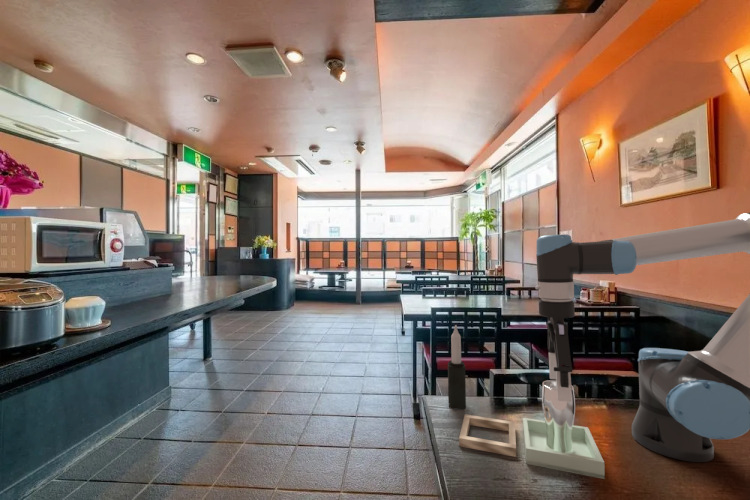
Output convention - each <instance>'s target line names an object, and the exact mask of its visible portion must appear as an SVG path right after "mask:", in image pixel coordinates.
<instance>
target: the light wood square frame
mask: <svg viewBox="0 0 750 500" xmlns="http://www.w3.org/2000/svg"><path fill="white" fill-rule="evenodd" d="M471 426H474V427H475V426H476V427H479V428H481V427H482V428H487V429H492V430H498V431H499V430H500V431H504V432H505V431H506V432H508V443H507V442H501V441H496V440H490V439H485V438H479V437H473V436H469V433H470V432H469V431H470V427H471ZM460 429H461V430H460V434H459V437H458V440H459V441H458V447H461V448H462V447H463V448H467V449H473V450H477V451H478V450H479V451H482V452H483V451H484V452H489V453H494V454H500V455H504V456H509V457H515V458H517V443H516V442H517V440H516V439H517V437H516V436H517V435H516V422H515V421H510V420H506V419H505V420H504V419H498V418H492V417H485V416H484V417H483V416H479V415H478V416H477V415H473V414H466V413H465V414H464V417H463V421H462V424H461V428H460Z"/></svg>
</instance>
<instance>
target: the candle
mask: <svg viewBox="0 0 750 500" xmlns="http://www.w3.org/2000/svg"><path fill="white" fill-rule="evenodd" d="M450 338H451V340H450V341H451V342H450V343H451V344H450V345H451V346H450V347H451V349H450V351H451V352H450V354H451V360H448V362H447V390H448V392H447V395H448V402H447V403H448V407H449V409H454V410H466V408H467V391H466V365H465V363H464V361H462V341H461V339H462V336H461V334H460V333H459V331H458V326H457V324H456V325H454V329H453V332H452V334H451V336H450Z"/></svg>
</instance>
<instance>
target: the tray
mask: <svg viewBox="0 0 750 500" xmlns="http://www.w3.org/2000/svg"><path fill="white" fill-rule="evenodd" d="M546 432H547V431H546V423H545V420H541V419H533V418H527V417H522V435H523V444H524V455H525V464H526V465H530V466H536V467H540V468H545V469H550V470H551V469H552V470H555V471H560V472H566V473H571V474H577V475H581V476H586V477H591V478H592V477H593V478H595V479H596V478H597V479H601V480H602V479H603V480H605V479H606V478H605V477H606V476H605V474H606V473H605V467H606V466H605V461H604V459H603V457H602V454H601V452H600V450H599V448H598V446H597V444H596V441H595V439H594V437H593V435H592V432H591V431H590V429H589V427H587V426H581V425H574V424H573V428H572V443H573V448H574V453H573V454H569V453H563V452H558V451H552V450H548V449H547V448H546V447H545V440H546Z"/></svg>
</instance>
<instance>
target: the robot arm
mask: <svg viewBox="0 0 750 500" xmlns="http://www.w3.org/2000/svg"><path fill="white" fill-rule="evenodd" d="M741 252H742V253H743V252H744V253H746V254H748V255H750V212H744V213H741V214H739V215H738V216H736V218H734V219H728V220H723V221H717V222H711V223H710V222H709V223H706V224H704V223H703V224H699V225H692V226H686V227H680V228H675V229H674V228H673V229H668V230H661V231H655V232H649V233H642V234H641V233H640V234H637V235H630V236H625V237H624V236H623V237H618V238H617V237H616V238H612V239H604V240H598V241H586V242H584V241H583V242H577V241H575V242H574V241H573V240H572V236H571V235H570V234H548V235H541V236H539V237H538V238H537V239H536V269H537V270H536V271H537V283H538V285H535V286H534V287H535V290H537V291H538V297H539V298H540V299H539V300H538V313H539V315H540V316H541V317H543V318H544V317H545V318H547V322H546V327H547V344H546V345H547V350H548V366H549V367H548V368H549V369H548V371H549V379H550V380H556V381H557V400H558V401H567V402H572V394H571V385H572V377H571V373H572V372H573V365H572V358H571V349H570V341H569V327H568V325H567V324H566V323H565V319H570V318H574V317H575V315H576V312H575V310H576V309H575V301H574V300H573V299H574V298H575V287H574V286H575V285H574V275H615V276H617V275H618V276H619V275H628V274H632V273H633V272H634V271H635V270H636V267H637V266H642V265H649V264H657V263H665V262H666V263H667V262H672V261H679V260H688V259H694V258H695V259H697V258H702V257H703V258H705V257H710V256H711V257H712V256H718V255H728V254H735V253H741ZM637 362H638V385H639V386H638V388H639V389H638V390H639V392H638V395H639V406H638V409H637V412H636V414H635V417H634V418H633V421H632V423H631V435H632V438H633V440H635V441H636V442H637V443H639V444H640V445H641V446H643V447H644V448H646V449H648V450H650V451H651V452H655V453H656V454H659V455H662V456H665V457H668V458H672V459H675V460H680V461H683V462H689V463H707V462H711V461H712V460H713V459H714V457H715V447H714V443H713V441H712V440H733V439H735V438H739V437H741V436H743V435H745V434H747V433H748V432H749V430H750V293H749V294H748V295H747V297H746V298H745V299H744V300H743V301H742V303H741V304H740V305H739V306H738V307H737V308H736V310H735V311H734V312H733V313H732V314H731V315H730V317H728V319H727V320H726V321H725V323H724V324H723V325H722V326H721V327H720V328H719V330H718V331H717V333H715V335H714V336H713V337H712V339H711V340H710V341H709V342H708V343H707V344H706V345H705V347H703V349H701V350H694V351H686V350H680V349H673V348H662V347H661V348H660V347H643V348H640V349H639V351H638V358H637Z"/></svg>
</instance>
